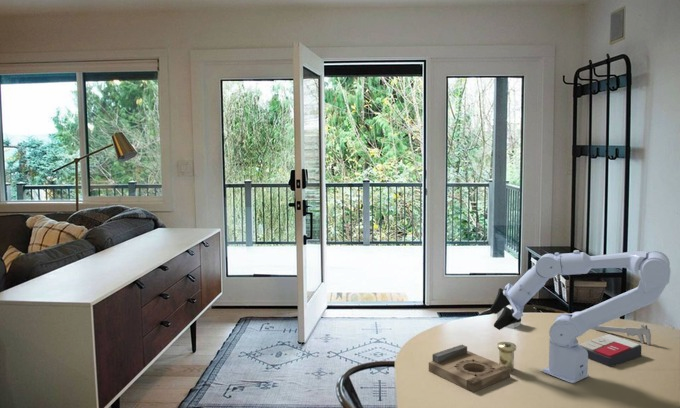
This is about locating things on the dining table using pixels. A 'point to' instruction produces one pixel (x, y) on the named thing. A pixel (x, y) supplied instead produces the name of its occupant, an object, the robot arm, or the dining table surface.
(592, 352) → the printed card box
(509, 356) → the bushing
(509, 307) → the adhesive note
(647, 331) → the caliper
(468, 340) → the dining table surface
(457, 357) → the jig
